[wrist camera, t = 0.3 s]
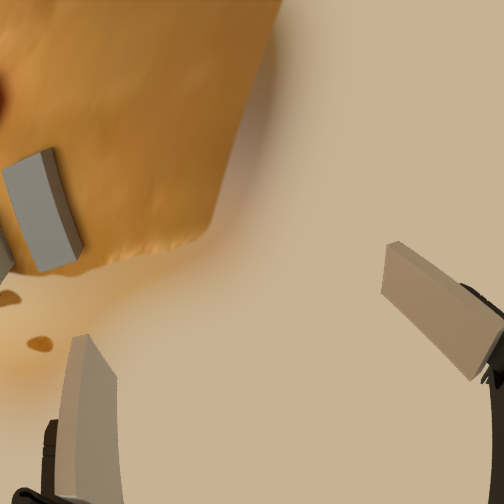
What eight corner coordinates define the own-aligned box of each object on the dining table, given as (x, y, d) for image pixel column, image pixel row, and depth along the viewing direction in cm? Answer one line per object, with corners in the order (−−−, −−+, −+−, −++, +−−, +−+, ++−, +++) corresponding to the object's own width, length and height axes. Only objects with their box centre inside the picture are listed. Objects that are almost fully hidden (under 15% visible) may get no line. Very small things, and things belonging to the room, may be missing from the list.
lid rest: (15, 163, 27) (1, 170, 24) (51, 147, 28) (40, 151, 25) (48, 258, 34) (39, 272, 30) (83, 247, 35) (76, 261, 32)
